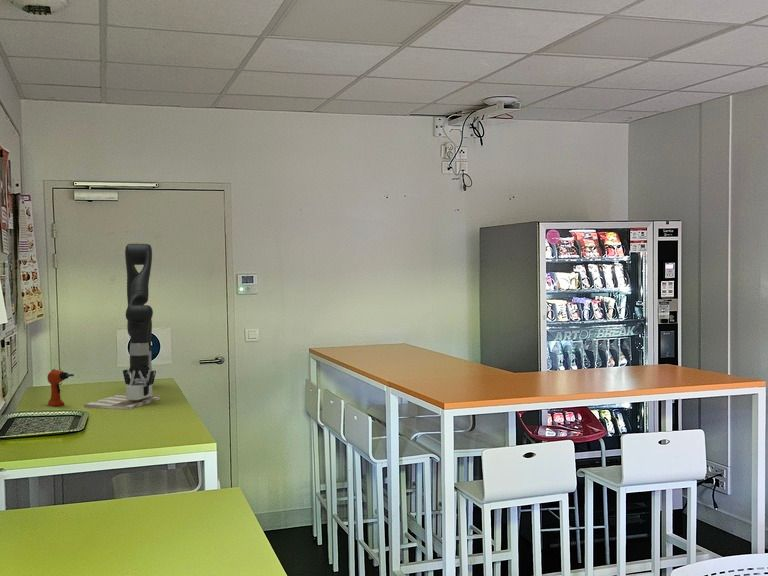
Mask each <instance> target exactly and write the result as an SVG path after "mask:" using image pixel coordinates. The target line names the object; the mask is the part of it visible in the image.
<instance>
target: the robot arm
mask: <svg viewBox="0 0 768 576" xmlns="http://www.w3.org/2000/svg"><path fill="white" fill-rule="evenodd" d="M124 257H125V269H126V297H127V308H126V311H125V319H126V320H127V326H126V327H127V330H126V331H127V334H128V335H129V336H130V340H129V342H130V344H129V345H130V346H129V368H128V369H123V370H122V374H123V379H124V382H125V384H126V385H127V386H128V385H132V384H135V383H139V382H143V384H144V396H146V395H148V394H149V385H152V386H153V385H154V382H155V377H156V374H157V371H156V370H155V369H153V366H152V331H153V320H152V319H153V315H154V310H153V307H151V306H150V305H148V304H147V303H148V301H149V285H150V283H149V282H150V276H151V270H152V263H153V247H152V246H151V245H150V244H148V243H128V244H127V245H126V246H125V249H124ZM136 266H142V269H141V270H140V271H138V270H137V268H136Z"/></svg>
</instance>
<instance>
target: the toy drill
mask: <svg viewBox="0 0 768 576" xmlns="http://www.w3.org/2000/svg"><path fill="white" fill-rule="evenodd" d="M74 376H75V375H74V373H68V372H65V371H63V370H56V368H54V369H51V371H50V372H48V373H47V381H48V383H49V384H50V388H51V389H50V390H51V394H50V398H49V400H48V402H47V406H50V407H55V408H56V407H64V406H65V402H64V401H63V400H62V399H61V389H60V388H61V387H60V383H61V382H63V381H64V380H67V379H69V377H70V378H71V377H74Z"/></svg>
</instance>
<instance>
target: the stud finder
mask: <svg viewBox="0 0 768 576" xmlns="http://www.w3.org/2000/svg"><path fill="white" fill-rule="evenodd" d="M125 396H126V400H139V399H142V398H146V397H149V396H153V384H152V385H149V394H148V395H146V396H144V384H143V382H139V383H135V384H132V385H128V384H127V385H126V386H125Z"/></svg>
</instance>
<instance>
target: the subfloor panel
mask: <svg viewBox="0 0 768 576" xmlns="http://www.w3.org/2000/svg"><path fill="white" fill-rule="evenodd" d="M156 400H157V401H159V400H160V396H155V395H154V396H153V395H152V396H149V397H146V398H142V399H139V400H126V394H125V395H123V394H122V395H121V394H116V395H112V396H110V397H105V398H102V399H101V398H100V399H98V400H95V401H92V402H88V403H84V404H83V408H87V409H90V408H91V409H113V410H128V411H129V410H133V409H136V408H139V407H142V406H145V405H147V404H151V403H153V401H154V402H157V401H156Z"/></svg>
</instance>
